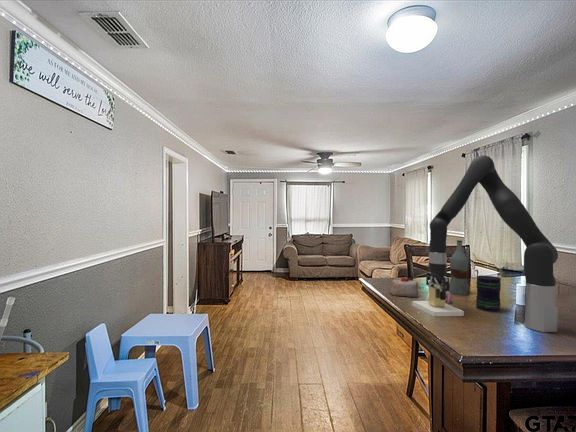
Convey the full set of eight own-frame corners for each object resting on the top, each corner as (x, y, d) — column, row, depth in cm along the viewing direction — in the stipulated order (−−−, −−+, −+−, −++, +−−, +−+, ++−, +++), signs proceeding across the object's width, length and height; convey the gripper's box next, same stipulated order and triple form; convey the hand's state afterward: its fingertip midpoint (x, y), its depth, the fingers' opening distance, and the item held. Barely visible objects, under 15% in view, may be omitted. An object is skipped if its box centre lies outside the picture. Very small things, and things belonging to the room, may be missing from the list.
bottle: (450, 294, 184) (451, 240, 184) (447, 291, 193) (448, 239, 193) (469, 296, 181) (470, 241, 182) (465, 292, 190) (466, 240, 190)
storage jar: (504, 312, 150) (504, 279, 150) (480, 311, 152) (480, 278, 152) (495, 307, 159) (495, 276, 159) (472, 305, 161) (473, 274, 161)
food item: (391, 296, 178) (391, 277, 178) (391, 293, 186) (391, 275, 186) (418, 298, 174) (418, 279, 174) (417, 295, 181) (417, 277, 181)
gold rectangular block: (445, 306, 150) (445, 288, 150) (434, 306, 149) (435, 288, 149) (438, 303, 155) (438, 286, 155) (428, 303, 154) (428, 286, 154)
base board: (463, 315, 144) (463, 311, 144) (433, 316, 142) (433, 311, 142) (439, 304, 162) (439, 300, 162) (412, 305, 160) (412, 301, 160)
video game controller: (451, 306, 166) (453, 292, 168) (449, 303, 163) (451, 289, 165) (431, 302, 172) (433, 289, 175) (428, 299, 169) (431, 286, 172)
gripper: (455, 264, 145) (454, 301, 145) (435, 260, 159) (435, 293, 159) (439, 264, 144) (438, 301, 144) (421, 260, 158) (420, 294, 158)
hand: (436, 297), depth 152 cm, fingers open, 8 cm apart
